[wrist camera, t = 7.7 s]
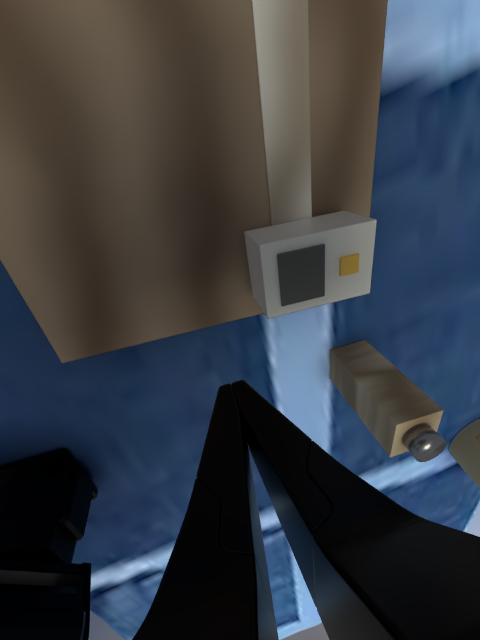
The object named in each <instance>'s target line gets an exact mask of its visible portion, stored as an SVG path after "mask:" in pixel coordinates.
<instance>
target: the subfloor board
mask: <svg viewBox="0 0 480 640" xmlns="http://www.w3.org/2000/svg"><path fill="white" fill-rule="evenodd" d="M387 2H388V0H0V260H1V262H2V263H3V265H4V267H5V268H6V270H7V272H8V273H9V275H10V277H11V278H12V280H13V282H14V283H15V285H16V287H17V288H18V290H19V292H20V293H21V295H22V297H23V298H24V300H25V302H26V303H27V305H28V307H29V308H30V310H31V312H32V313H33V315H34V317H35V318H36V320H37V322H38V323H39V325H40V327H41V328H42V330H43V332H44V333H45V335H46V337H47V338H48V340H49V342H50V343H51V345H52V347H53V348H54V350H55V352H56V353H57V355H58V357H59V358H60V360H61V362H62V363H65V362H69V361H73V360H77V359H81V358H85V357H89V356H93V355H97V354H101V353H105V352H109V351H113V350H117V349H121V348H125V347H129V346H133V345H138V344H142V343H146V342H150V341H154V340H158V339H162V338H166V337H170V336H174V335H178V334H182V333H186V332H190V331H194V330H198V329H202V328H206V327H210V326H214V325H218V324H222V323H226V322H230V321H234V320H238V319H242V318H246V317H250V316H254V315H258V314H262V313H264V312H263V311H262V309H261V308H260V306H259V305H258V303H257V302H256V300H255V299H254V297H253V293H252V286H251V279H250V271H249V264H248V257H247V250H246V242H245V235H244V231H249V230H254V229H259V228H264V227H268V226H273V225H278V224H283V223H287V222H292V221H297V220H302V219H306V218H311V217H316V216H321V215H325V214H330V213H335V212H340V211H347V212H351V213H354V214H358V215H361V216H365V217H369V218H370V208H371V195H372V183H373V171H374V159H375V147H376V135H377V123H378V111H379V99H380V87H381V74H382V62H383V50H384V38H385V26H386V14H387Z"/></svg>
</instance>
